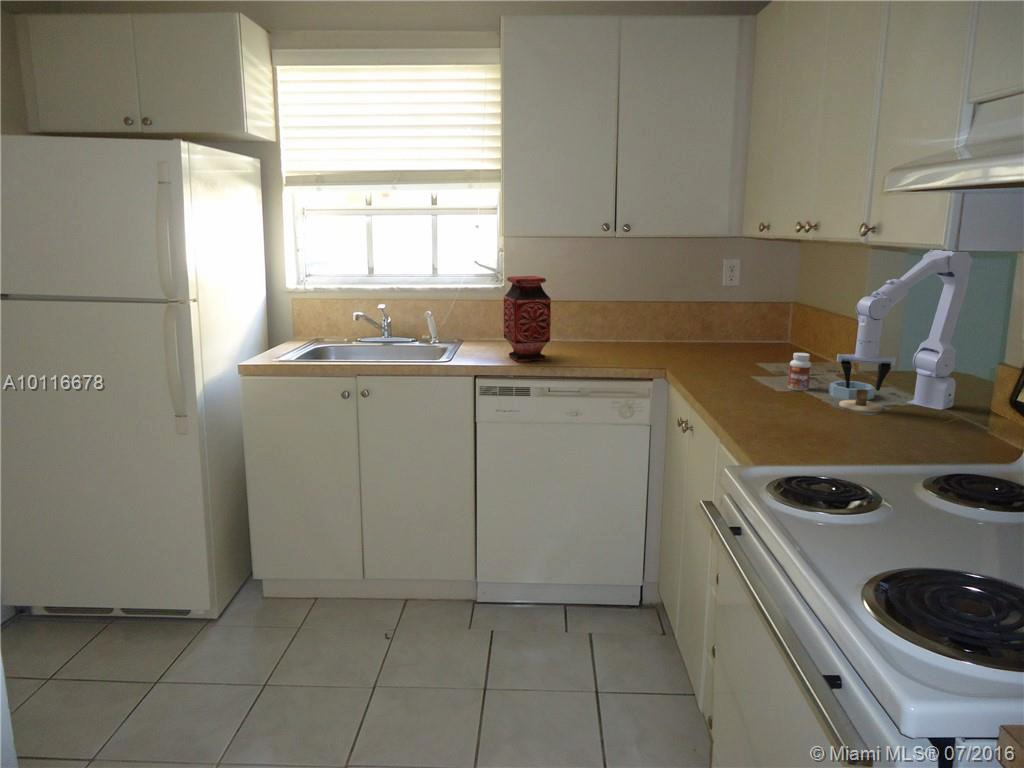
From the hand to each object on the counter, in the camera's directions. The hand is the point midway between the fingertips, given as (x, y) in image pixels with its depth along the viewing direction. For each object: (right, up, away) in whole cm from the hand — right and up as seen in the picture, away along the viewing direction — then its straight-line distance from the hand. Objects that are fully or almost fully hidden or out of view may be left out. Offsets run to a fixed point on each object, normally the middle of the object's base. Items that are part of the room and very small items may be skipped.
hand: (862, 388), depth 206 cm
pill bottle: (-9, 0, +24) cm, 26 cm away
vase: (-92, +11, +69) cm, 116 cm away
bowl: (+4, -2, +15) cm, 15 cm away
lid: (0, -5, +1) cm, 5 cm away
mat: (0, -6, +1) cm, 6 cm away
